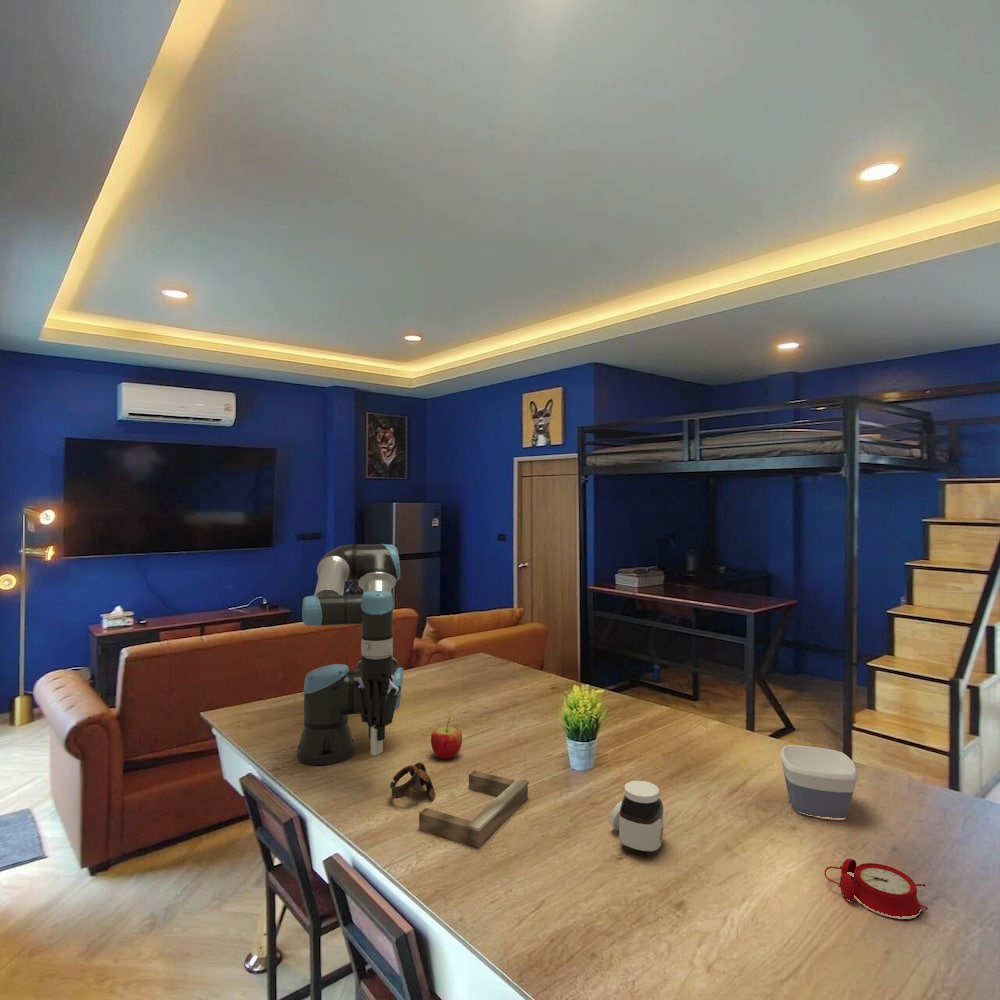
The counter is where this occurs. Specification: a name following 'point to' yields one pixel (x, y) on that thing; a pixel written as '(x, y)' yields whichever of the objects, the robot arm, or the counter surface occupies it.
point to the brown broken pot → (412, 781)
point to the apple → (446, 741)
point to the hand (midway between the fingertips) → (376, 752)
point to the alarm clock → (879, 888)
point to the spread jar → (639, 818)
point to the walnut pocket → (486, 821)
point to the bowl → (818, 780)
